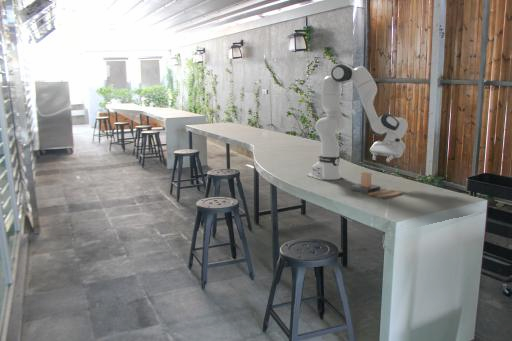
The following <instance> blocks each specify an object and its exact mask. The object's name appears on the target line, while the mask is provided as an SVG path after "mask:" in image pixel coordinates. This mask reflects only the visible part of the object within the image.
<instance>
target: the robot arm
mask: <svg viewBox="0 0 512 341" xmlns="http://www.w3.org/2000/svg"><path fill="white" fill-rule="evenodd" d="M333 66H334V67H333V68H332V69H331V71H330V75H328V76H325V77H324V78H323V80H322V86H321V108H322V109H323V111H324V113H325V116H326V117H325V116H324V117H321V118H319V119H318V120H317V121H316V122H315V124H314V129H315V131H316V133H317V134H318V135H319V139H320V143H321V144H320V145H321V146H320V147H321V148H320V149H321V154H320V156H317V158H318V159H319V160H318V161H317V162H315V163H314V164H313V165H312V166H311V168H310V172H308V173H307V174H306V176H308V177H311V178H313V179H317V180H329V181H331V180H332V181H333V180H340V179H341V178H342V177H341V171H340V158H341V157H340V143H339V141H338V140H337V137H336V134H339V133H341V132H342V131H344V130H346V128H347V121H346V119H345V118H344V116H343V114H342V109H341V97H340V95H341V94H340V92H341V90H340V89H341V85H343V84H346V83H349V82H351V83H353V85H354V87H355V89H356V90H357V92H358V95H359V98H360V104H361V106H362V109H363V112H364V114H365V116H366V118H367V121H368V122H367V123H368V126H369V127H368V128H369V131H370V132H371V134H373V135H374V136H376V137H381V136H383V135H384V134H385V133H386V135H385V137H384V139H383V140H377V141H375V142H374V143H373V144H372V145H371V147H370V148H369V152H370V153H371V154H372V158H371V159H372V160H373V161H376V160H377V157H376V156H385V157H387V158H386V159H385V162H386V163H390V161H391V160H394V158H398V159H399V158H401V157H402V156H403V154H404V151H405V149H406V144H405V143H404V141H403V140H402V138H404V136H405V135H406V132H407V131H408V127H409V124H408V121H407V120H406V118H403V117H396V116H393V115H392V114H390V113H383V114H382V115H381V116H378V114H377V112H376V108H375V106H374V100H375V98H376V96H377V93H378V86H377V84H376V82H375V80H374V78H373V76H372V75H371V73H370V72H369V70H368V69H367V68H366V67H365V66H362V65H360V66H356V67H355V68H354V66H353V65H351V64H348V63H339V64H338V63H337V64H336V65H333Z"/></svg>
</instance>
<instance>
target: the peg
mask: <svg viewBox="0 0 512 341" xmlns="http://www.w3.org/2000/svg"><path fill="white" fill-rule="evenodd" d="M360 176H361V177H360V184H361V186H362V187H366V188H367V187H371V184H372V173H371V172H367V171H365V172H361V174H360Z"/></svg>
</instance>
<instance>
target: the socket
mask: <svg viewBox="0 0 512 341" xmlns="http://www.w3.org/2000/svg"><path fill="white" fill-rule="evenodd" d="M379 190H381V186H380V185H378V184H377V185H376V184H373V183H371V187H367V188H366V187H362V186H361V183H358V184H353V185H351V190H350V191H354V192H357V193H363V194H366V195H368V193H371V192H375V191H379Z"/></svg>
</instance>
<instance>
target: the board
mask: <svg viewBox="0 0 512 341" xmlns="http://www.w3.org/2000/svg"><path fill="white" fill-rule="evenodd" d="M401 195H403V192H402V191H398V190H393V189H389V188H383V189H380V190H379V191H375V192H371V193H368V194H367V196H370V197H374V198H379V199H383V200H387V199H391V198H394V197H396V196H401Z"/></svg>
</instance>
